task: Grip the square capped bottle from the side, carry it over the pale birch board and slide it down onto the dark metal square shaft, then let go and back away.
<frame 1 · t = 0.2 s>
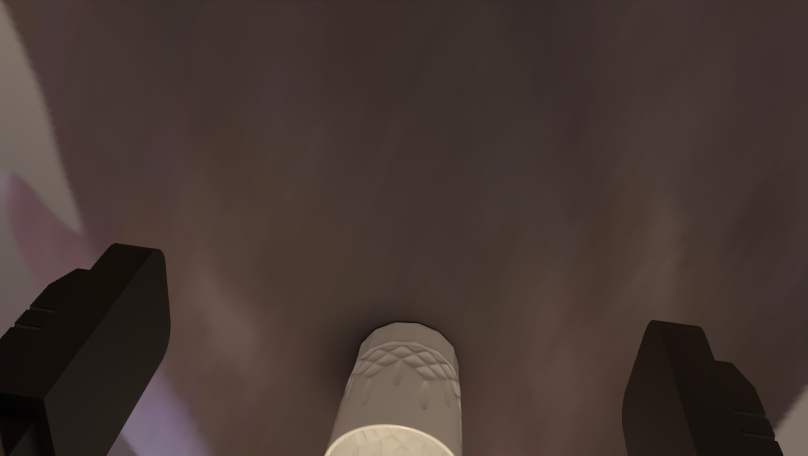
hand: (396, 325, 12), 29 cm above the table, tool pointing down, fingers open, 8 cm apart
white cup: (408, 358, 50), on the table
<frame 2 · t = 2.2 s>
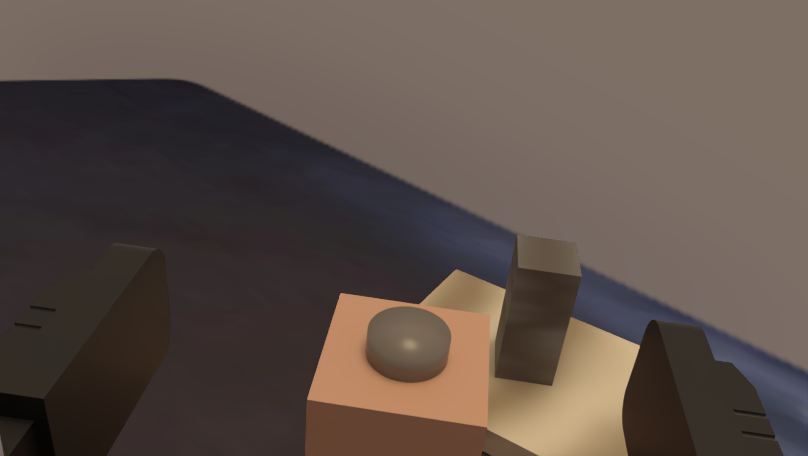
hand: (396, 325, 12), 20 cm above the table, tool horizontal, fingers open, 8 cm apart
shaft board: (517, 383, 41), on the table
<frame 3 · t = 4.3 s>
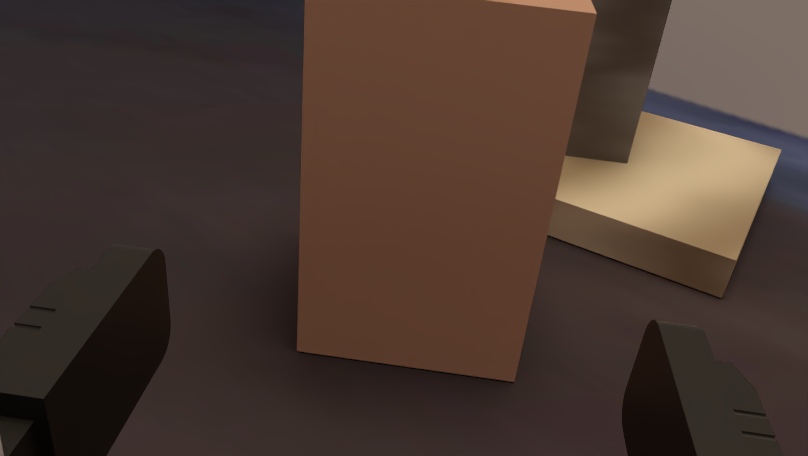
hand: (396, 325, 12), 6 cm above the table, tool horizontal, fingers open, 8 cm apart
shaft board: (577, 175, 32), on the table
square capped bottle: (415, 301, 23), on the table
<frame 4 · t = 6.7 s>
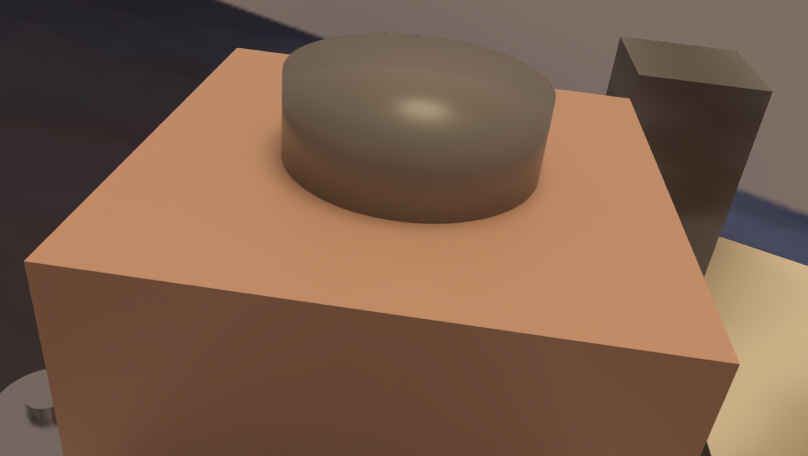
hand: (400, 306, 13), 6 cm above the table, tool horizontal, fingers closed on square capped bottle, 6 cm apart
shaft board: (608, 333, 23), on the table
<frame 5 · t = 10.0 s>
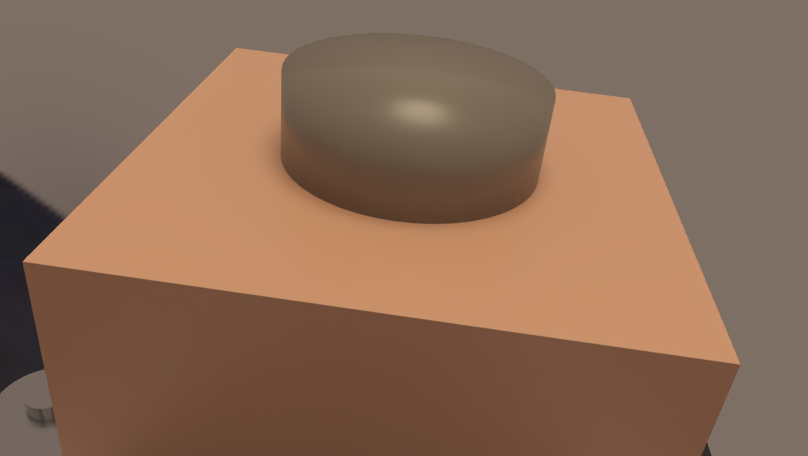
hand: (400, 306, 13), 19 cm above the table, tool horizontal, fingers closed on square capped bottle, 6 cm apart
when the fingers open (8 cm above the table, at t = 13.5 s): square capped bottle stays where it is, resting on shaft board.
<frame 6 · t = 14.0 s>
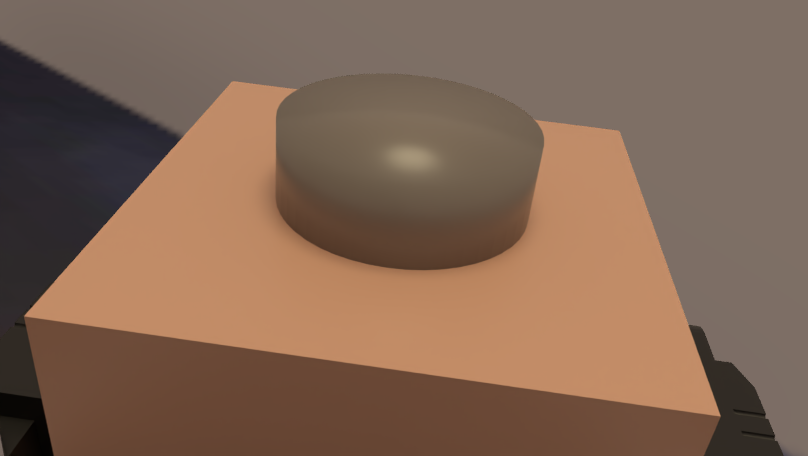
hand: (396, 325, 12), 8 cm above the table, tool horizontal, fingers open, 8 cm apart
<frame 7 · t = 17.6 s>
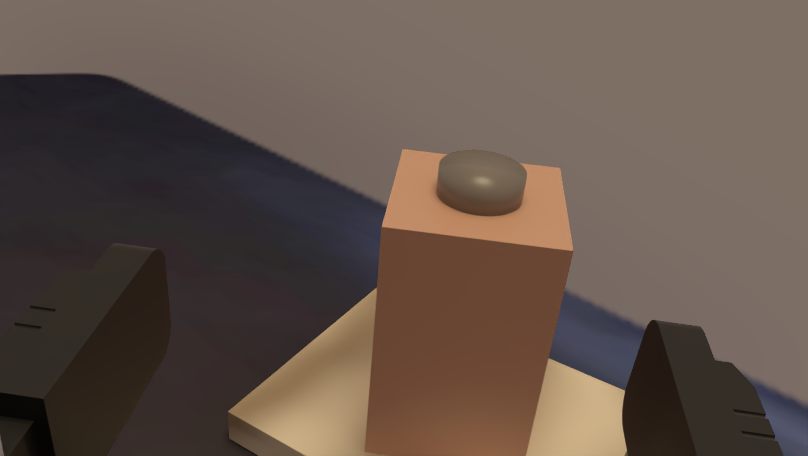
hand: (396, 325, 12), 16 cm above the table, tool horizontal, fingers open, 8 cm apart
shaft board: (443, 432, 32), on the table
square capped bottle: (447, 407, 31), point 1 cm above the table, touching shaft board
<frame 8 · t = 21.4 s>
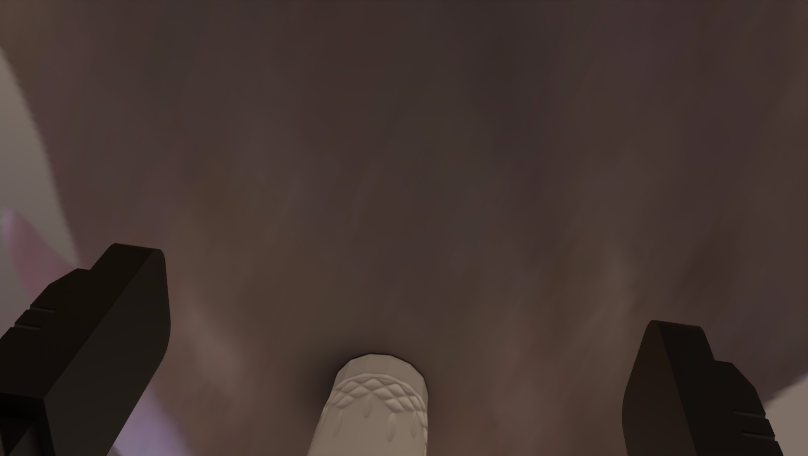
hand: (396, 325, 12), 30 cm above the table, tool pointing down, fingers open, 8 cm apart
white cup: (381, 386, 54), on the table
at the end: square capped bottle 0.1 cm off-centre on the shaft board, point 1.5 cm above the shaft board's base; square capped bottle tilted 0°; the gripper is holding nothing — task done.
